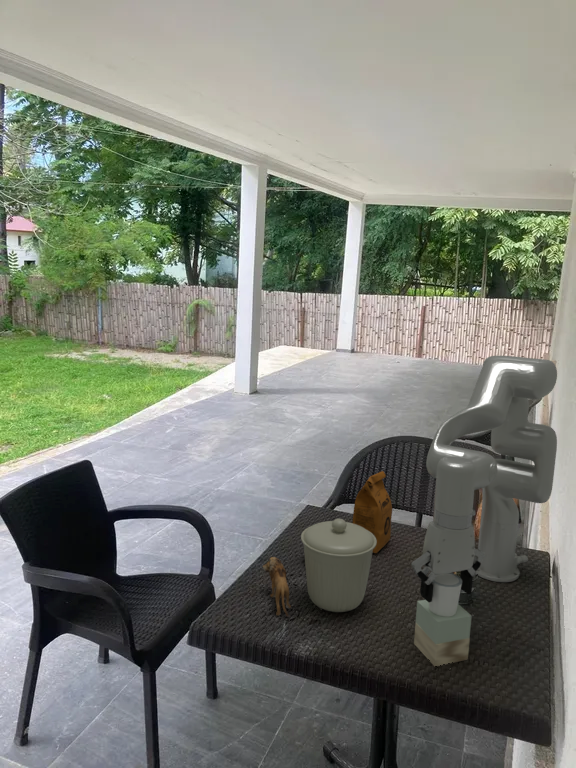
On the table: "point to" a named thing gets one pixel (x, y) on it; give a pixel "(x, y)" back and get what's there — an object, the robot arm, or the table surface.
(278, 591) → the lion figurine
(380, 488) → the coffee package
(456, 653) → the tower base
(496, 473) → the robot arm
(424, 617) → the tower top
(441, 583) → the shot glass
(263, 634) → the table surface
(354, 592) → the canister
